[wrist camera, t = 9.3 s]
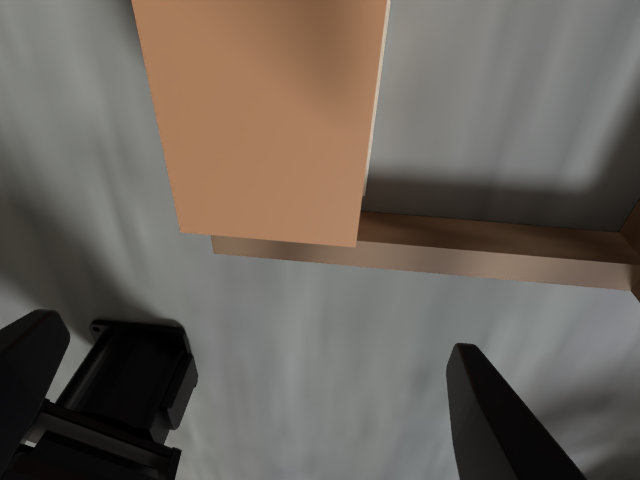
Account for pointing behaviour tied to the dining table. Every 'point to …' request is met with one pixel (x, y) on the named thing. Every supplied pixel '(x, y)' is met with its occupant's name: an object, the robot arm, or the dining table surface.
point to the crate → (264, 112)
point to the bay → (469, 245)
